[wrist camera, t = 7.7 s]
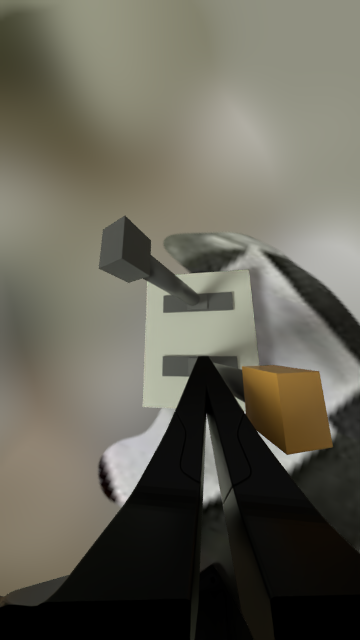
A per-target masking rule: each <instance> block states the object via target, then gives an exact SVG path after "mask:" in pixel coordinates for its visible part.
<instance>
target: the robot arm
mask: <svg viewBox="0 0 360 640" xmlns="http://www.w3.org/2000/svg"><path fill="white" fill-rule="evenodd" d="M175 411H176V412H174V414H173V417H172V419H171V422H170V424H169V426H168V428H167V430H166V432H165V434H164V436H163V438H162V440H161V442H160V444H159V446H158V448H157V450H156V451H155V453H154V455H153V457H152V459H151V460H150V462H149V464H148V466H147V468H146V470H145V471H144V473H143V475H142V477H141V479H140V480H139V482H138V484H137V485H136V487H135V489H134V490H133V492H132V494H131V495H130V497H129V498H128V500H127V501H126V502H125V504H124V505H123V507H122V508H121V509H120V510H119V512H118V513H117V514H116V516H115V517H114V518H113V520H112V521H111V522H110V523H109V525H108V526H107V527H106V528H105V530H104V531H103V532H102V534H101V535H100V536H99V538H98V539H97V540H96V541H95V543H94V544H93V546H92V547H91V548H90V549H89V550H88V552H87V553H86V554H85V556H84V557H83V558H82V559H81V561H80V562H79V563H78V565H77V566H76V567H75V568H74V570H73V571H72V572H71V574H70V575H67V576H63V577H60V578H57V579H53V580H50V581H46V582H42V583H39V584H35V585H32V586H29V587H25V588H22V589H18V590H15V591H13V592H10V593H9V594H7V595H6V596H4V597H3V596H0V640H253V638H254V640H360V553H359V552H358V551H357V550H356V549H355V548H354V547H353V546H351V545H350V544H349V543H348V542H347V541H346V540H345V539H344V538H343V537H342V536H341V535H340V534H339V533H338V532H337V531H336V530H335V529H334V528H333V527H332V526H331V525H330V524H329V523H328V522H327V520H326V519H325V518H324V517H323V516H322V515H321V514H320V513H319V512H318V510H317V509H316V508H315V507H314V506H313V505H312V503H311V502H310V501H309V500H308V498H307V497H306V496H305V495H304V493H303V492H302V491H301V490H300V488H299V487H298V486H297V484H296V483H295V482H294V480H293V479H292V478H291V476H290V475H289V474H288V473H287V471H286V470H285V469H284V467H283V466H282V465H281V463H280V462H279V461H278V459H277V458H276V457H275V456H274V454H273V453H272V452H271V450H270V449H269V448H268V446H267V445H266V443H265V442H264V441H263V439H262V438H261V437H260V435H259V434H258V432H257V431H256V429H255V428H254V426H253V425H252V423H251V422H250V420H249V419H248V417H247V415H246V414H245V413H244V411H243V409H242V408H241V406H240V404H239V403H238V401H237V400H236V398H235V397H234V395H233V393H232V392H231V390H230V389H229V387H228V386H227V384H226V382H225V381H224V379H223V378H222V376H221V374H220V373H219V371H218V370H217V368H216V367H215V365H214V363H213V362H212V360H211V359H210V357H209V356H198V357H197V360H196V362H195V364H194V367H193V369H192V372H191V374H190V376H189V379H188V381H187V384H186V386H185V388H184V391H183V393H182V396H181V398H180V400H179V403H178V405H177V408H176V410H175ZM206 414H207V418H208V424H209V430H210V435H211V441H212V447H213V452H214V458H215V464H216V469H217V475H218V481H219V486H220V492H221V498H222V503H223V509H224V515H225V521H226V526H227V532H228V538H229V543H230V549H231V555H232V560H233V566H234V572H235V577H236V583H237V589H238V594H239V600H240V606H241V612H242V614H243V616H244V619H245V621H246V622H245V621H244V619H243V617H242V615H241V613H240V611H239V610H238V608H237V606H236V604H235V602H234V600H233V598H232V597H231V596H230V595H229V593H228V591H227V590H226V588H225V586H224V584H223V582H222V580H221V578H220V577H219V575H218V573H217V571H216V570H215V569H214V568H212V567H211V568H209V569H208V570H206V571H205V572H204V573H202V574H201V575H200V553H201V530H202V507H203V503H202V502H203V484H204V460H205V437H206ZM246 623H247V624H246ZM247 625H248V626H247ZM248 627H249V629H250V632H251V634H252V636H253V638H252V636H251V634H250V632H249V629H248Z"/></svg>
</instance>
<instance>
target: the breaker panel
mask: <svg viewBox="0 0 360 640" xmlns="http://www.w3.org/2000/svg"><path fill="white" fill-rule="evenodd" d="M150 252H151V240H150V239H149V238H148V237H147V236H146V235H145V234H144V233H143V232H141V231H140V230H139V229H138V228H137V227H136V226H135V225H134V224H133V223H132V222H131V221H130V220H129V219H128V218H127V217H126V216H124V217H122V218H120V219H119V220H117V221H116V222H114V223H113V224H111V225H110V226H108V227H106V228H105V229H103V235H102V245H101V253H100V263H99V269H101V270H103V271H105V272H107V273H109V274H111V275H114V276H116V277H118V278H120V279H122V280H124V281H126V282H128V283H129V282H132V281H136V280H139V279H142V278H143V279H145V280H146V281H147V304H146V305H147V307H146V332H145V333H146V334H145V361H144V388H143V390H144V391H143V407H157V408H158V407H159V408H177V405H178V403H179V400H180V398H181V396H182V393H183V391H184V388H185V386H186V384H187V381H188V379H189V376H190V374H191V372H192V369H193V367H194V364H195V362H196V360H197V357H198V356H209V357H210V359H211V360H212V362H213V363H217V364H221V365H225V366H229V367H234V368H238V369H242V366H259V359H258V350H257V341H256V331H255V322H254V313H253V303H252V294H251V285H250V276H249V270H235V271H221V272H207V273H193V274H180V275H175V274H173V273H172V272H171V271H170V270H168V269H167V268H166V267H165V266H164V265H162V264H161V263H160V262H159V261H158V260H156V259H155V258H154V257H153V256H151V253H150ZM235 398H236V397H235ZM236 400H237V401H238V403H239V404H240V406H241V408H242V409H243V411H246V409H245V403H244V402H243V401H241V400H239V399H238V398H236Z"/></svg>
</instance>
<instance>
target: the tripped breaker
mask: <svg viewBox="0 0 360 640" xmlns="http://www.w3.org/2000/svg"><path fill="white" fill-rule="evenodd" d="M214 365H215V367H216V368H217V370H218V371H219V373H220V374H221V376H222V378H223V379H224V381H225V382H226V384H227V386H228V387H229V389H230V390H231V392H232V393H233V395H234V397H236V398H238V399H239V400H241V401H243V402H244V403H245V409H246V415H247V417H248V419H249V420H250V422H251V423H252V425H253V426H254V428H255V429H256V430H257V431H258V432H259V433H260V434H262V435H263V436H264V437H265V438H267V439H268V440H269V441H270V442H272V443H273V444H274V445H275V446H277V447H278V448H279V449H280V450H282V451H283V452H284V453H285V454H287V455H289V454H295V453H300V452H306V451H312V450H318V449H324V448H330V447H333V445H332V439H331V434H330V428H329V423H328V417H327V412H326V406H325V401H324V395H323V390H322V384H321V379H320V373H319V371H312V370H305V369H298V368H291V367H284V366H277V365H265V366H242V369H238V368H234V367H229V366H225V365H221V364H217V363H214Z"/></svg>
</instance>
